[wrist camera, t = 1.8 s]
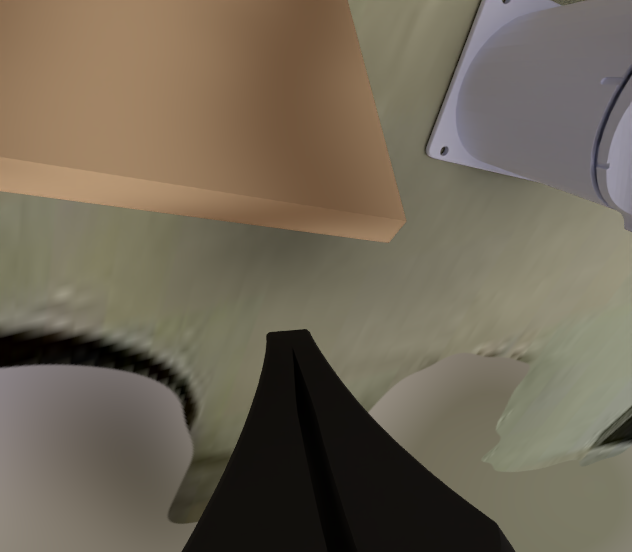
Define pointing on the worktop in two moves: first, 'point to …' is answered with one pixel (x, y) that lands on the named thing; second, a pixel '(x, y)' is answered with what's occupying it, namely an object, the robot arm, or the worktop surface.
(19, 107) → the lid
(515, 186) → the worktop surface
